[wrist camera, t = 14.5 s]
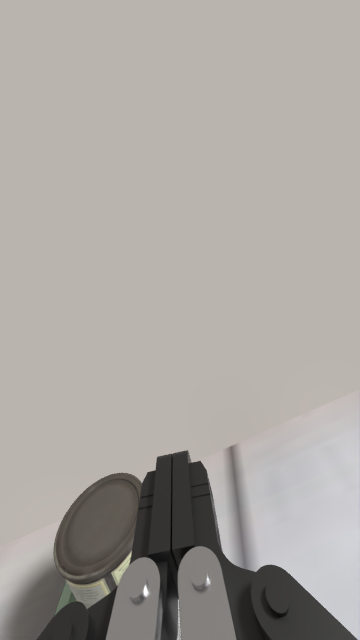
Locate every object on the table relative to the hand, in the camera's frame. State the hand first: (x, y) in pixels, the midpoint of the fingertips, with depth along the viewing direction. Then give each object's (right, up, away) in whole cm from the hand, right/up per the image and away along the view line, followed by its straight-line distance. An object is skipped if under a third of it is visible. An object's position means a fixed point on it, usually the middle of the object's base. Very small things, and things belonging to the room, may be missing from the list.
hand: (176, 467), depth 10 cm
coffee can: (-6, -29, +17) cm, 34 cm away
